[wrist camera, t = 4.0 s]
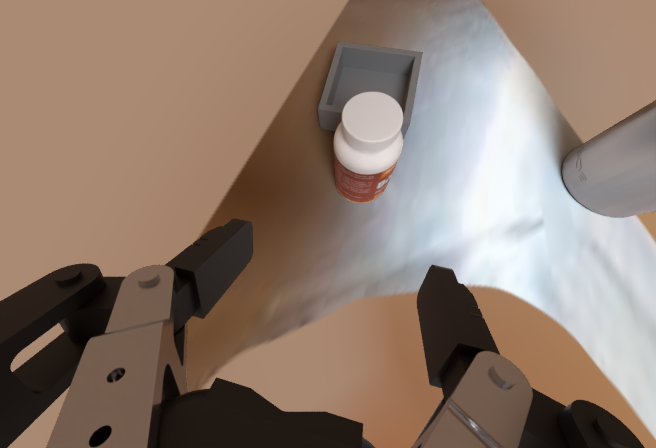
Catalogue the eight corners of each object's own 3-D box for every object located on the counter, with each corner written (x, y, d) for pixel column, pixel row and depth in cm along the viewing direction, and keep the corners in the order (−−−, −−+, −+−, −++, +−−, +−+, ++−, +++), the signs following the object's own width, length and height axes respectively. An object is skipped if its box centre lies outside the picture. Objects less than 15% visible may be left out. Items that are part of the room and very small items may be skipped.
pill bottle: (380, 210, 27) (405, 159, 17) (329, 198, 28) (322, 141, 17) (391, 164, 29) (420, 90, 18) (342, 153, 30) (343, 76, 19)
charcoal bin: (414, 77, 32) (422, 52, 29) (401, 143, 29) (409, 124, 26) (338, 66, 33) (338, 41, 30) (320, 128, 31) (317, 108, 27)
